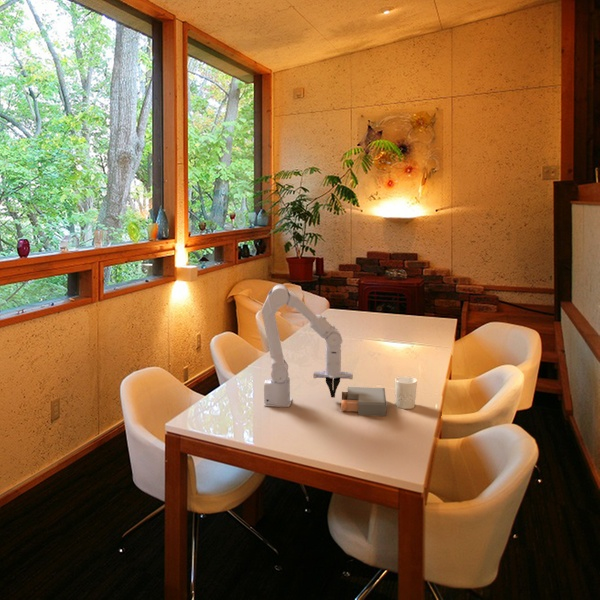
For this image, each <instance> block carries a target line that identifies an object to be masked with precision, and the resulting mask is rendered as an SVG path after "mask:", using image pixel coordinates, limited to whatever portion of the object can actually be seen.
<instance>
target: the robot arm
mask: <svg viewBox="0 0 600 600" xmlns="http://www.w3.org/2000/svg"><path fill="white" fill-rule="evenodd" d="M266 296H267V297H266V299H265V301H264V303H263V305H262V308H261V315H262V320H263V325H264V330H265V336H266V341H267V346H268V350H269V355H270V363H271V373H270V378H269V379H265V380H264V386H263V401H264V403H263V406H264V407H277V408H279V407H281V408H282V407H283V408H290V407H291V403H292V400H293V398H292V397H291V386H290V385H291V383H290V382H291V381H290V380H291V379H290V377H289V364H288V363H287V361H286V360H285V356H284V353H283V347H282V343H281V338H280V333H279V329H278V323H277V322H278V321H277V318H276V313H277V312H278V310H280V308H282V307H284V306H285V305H286V307H290V308H294V309H296V310H297V311H298V312H299V313H300V314H301V315H302V316H304V317H305V319H307V321H309V327H310V328H311V329H312V330H313V331H314V332H316V334H318V336H319V337H321V338H322V339H324V340H325V353H324V354H325V355H324V356H325V358H324V359H325V370H324V371H323V370H321V371H313V373H312V374H313V375H312V376H313V379H317V378H319V379H325V383H326V385H327V387H328V390H329V392H330V398H334V399H335V398H336V392H337V389H338V386H339V384H340V382H341V379H342V380H344V379H346V380H347V379H348V380H353V379H354V374H353V372H347V371H346V372H345V371H342V361H341V360H342V350H341V348H342V344H343V339H342V335H341V333H340V331H339V330H338V328H336V326H335V325H332V324H331V323H330V322H329V321H328V320H327V317H326V316H325V315H322V314H315V312H313V311H312V309H310V307H308V305H307V304H306V303H305V302H304V301H303V300H302V299H301V298H300V297H299V296H298V295H297V294H296V293H294V292H293V290H290V289H288V287H287V286H286V285H284V284H280V283H279V284H276V285H275V286H273V287H272V289H270V290H269V292H268V293H267V295H266Z"/></svg>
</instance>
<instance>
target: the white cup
mask: <svg viewBox="0 0 600 600" xmlns="http://www.w3.org/2000/svg"><path fill="white" fill-rule="evenodd" d="M417 387H418V379H417V378H415V377H412V376H407V375H406V376H405V375H404V376H403V375H401V376H398V377H395V378H394V393H395V406H396V407H397V408H398V409H403V410H410V409H414V407H416V406H415V405H416V397H417V389H418V388H417Z"/></svg>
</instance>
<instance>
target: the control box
mask: <svg viewBox="0 0 600 600" xmlns="http://www.w3.org/2000/svg"><path fill="white" fill-rule="evenodd" d="M385 389H386V388H385V387H365V386H363V387H361V386H360V387H358V386H357V387H355V386H347V392H348V397H347V400H358V411H357V413H358V414H357V415H358V416H376V417H378V416H379V417H386V416H387V397H386V390H385Z"/></svg>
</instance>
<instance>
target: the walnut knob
mask: <svg viewBox="0 0 600 600" xmlns="http://www.w3.org/2000/svg"><path fill="white" fill-rule="evenodd" d="M347 397H348V391H341V401H342V400H347Z"/></svg>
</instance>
